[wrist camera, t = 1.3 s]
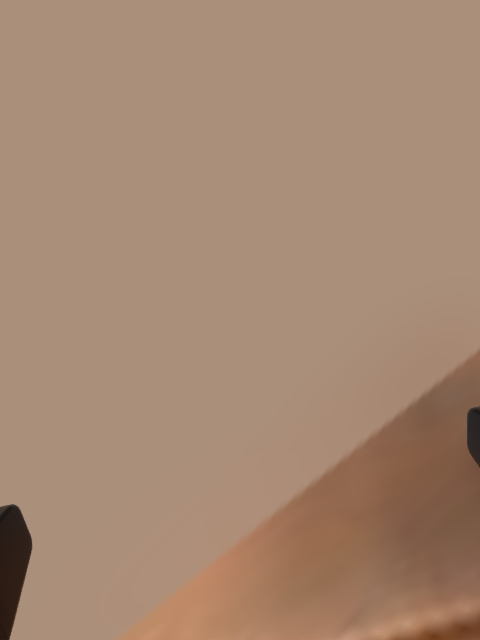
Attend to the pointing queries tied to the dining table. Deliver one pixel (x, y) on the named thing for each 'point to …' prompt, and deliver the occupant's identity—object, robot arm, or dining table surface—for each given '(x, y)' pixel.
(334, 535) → the dining table surface
